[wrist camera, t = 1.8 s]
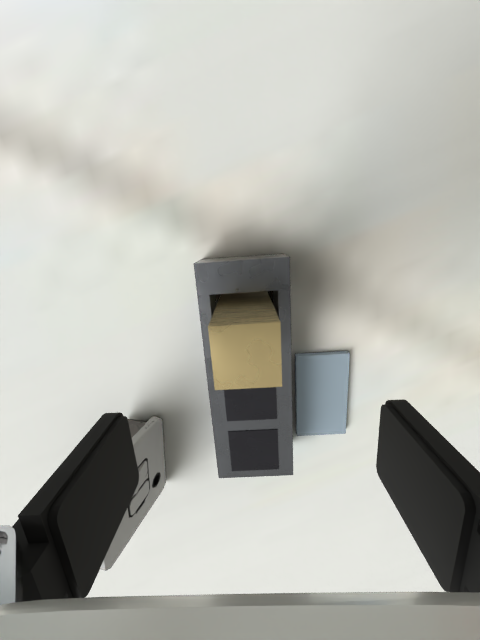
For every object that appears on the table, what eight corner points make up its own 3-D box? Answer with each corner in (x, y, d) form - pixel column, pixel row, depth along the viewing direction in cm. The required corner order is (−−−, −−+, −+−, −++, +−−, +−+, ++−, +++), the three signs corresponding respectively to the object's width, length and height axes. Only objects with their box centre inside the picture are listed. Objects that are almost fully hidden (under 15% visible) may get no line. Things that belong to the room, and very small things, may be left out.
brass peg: (222, 291, 25) (207, 326, 15) (266, 288, 24) (280, 322, 15) (225, 333, 26) (214, 390, 16) (268, 330, 26) (282, 386, 16)
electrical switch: (167, 482, 31) (126, 578, 22) (124, 477, 32) (67, 569, 23) (163, 412, 29) (114, 490, 20) (116, 407, 29) (48, 481, 20)
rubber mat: (295, 353, 26) (296, 356, 26) (347, 350, 26) (349, 353, 25) (295, 431, 29) (297, 435, 28) (343, 429, 29) (345, 433, 28)
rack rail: (201, 259, 24) (193, 263, 20) (282, 253, 24) (289, 256, 20) (222, 446, 30) (218, 478, 26) (286, 443, 29) (293, 475, 25)
